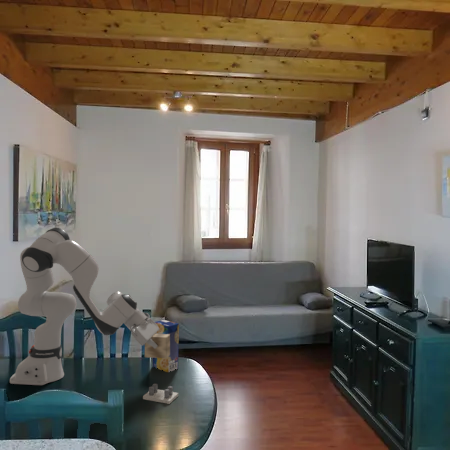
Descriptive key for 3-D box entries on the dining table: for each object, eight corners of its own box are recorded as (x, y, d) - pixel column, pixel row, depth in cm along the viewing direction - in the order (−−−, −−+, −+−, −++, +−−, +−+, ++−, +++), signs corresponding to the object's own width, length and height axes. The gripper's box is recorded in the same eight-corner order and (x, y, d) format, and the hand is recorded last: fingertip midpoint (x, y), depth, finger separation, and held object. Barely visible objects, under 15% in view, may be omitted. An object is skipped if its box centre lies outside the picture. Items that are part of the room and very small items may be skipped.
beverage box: (162, 363, 215) (163, 319, 214) (178, 368, 208) (178, 323, 208) (152, 366, 210) (152, 322, 209) (168, 372, 203) (168, 326, 202)
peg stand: (142, 399, 175) (143, 388, 174) (152, 391, 182) (152, 381, 182) (169, 403, 171) (169, 393, 170) (178, 395, 178) (178, 385, 178)
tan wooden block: (144, 357, 186) (144, 336, 186) (148, 353, 191) (148, 333, 191) (167, 358, 185) (167, 337, 185) (170, 354, 190) (169, 334, 190)
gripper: (134, 323, 179) (157, 347, 178) (148, 312, 199) (169, 333, 198) (123, 333, 179) (146, 357, 178) (139, 321, 199) (159, 343, 198)
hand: (158, 344), depth 188 cm, fingers closed on tan wooden block, 5 cm apart
